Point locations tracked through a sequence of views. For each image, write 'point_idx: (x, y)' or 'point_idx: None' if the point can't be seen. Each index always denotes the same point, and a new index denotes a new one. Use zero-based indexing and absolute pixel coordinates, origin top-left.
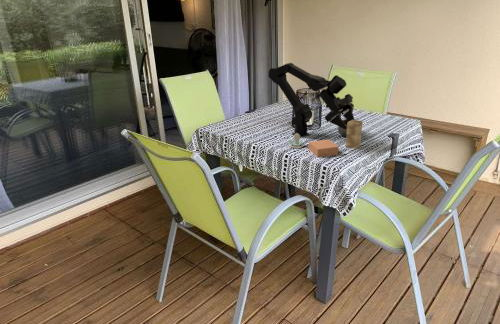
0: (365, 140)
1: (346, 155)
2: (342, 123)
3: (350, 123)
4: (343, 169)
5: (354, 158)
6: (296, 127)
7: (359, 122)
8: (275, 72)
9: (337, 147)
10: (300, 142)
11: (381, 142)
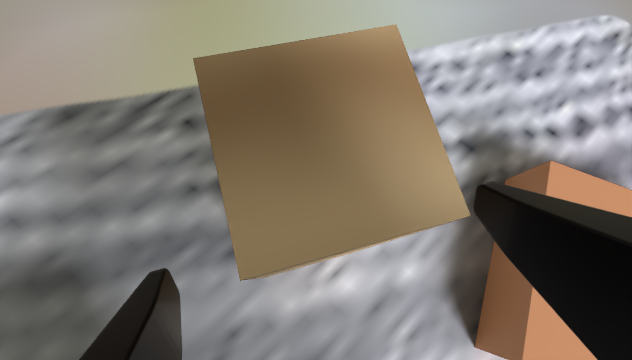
0: (89, 250)
1: (471, 129)
2: (607, 218)
3: (439, 155)
4: (608, 18)
5: (461, 68)
6: None
7: (299, 54)
8: None
9: (553, 166)
10: None
11: (42, 129)
